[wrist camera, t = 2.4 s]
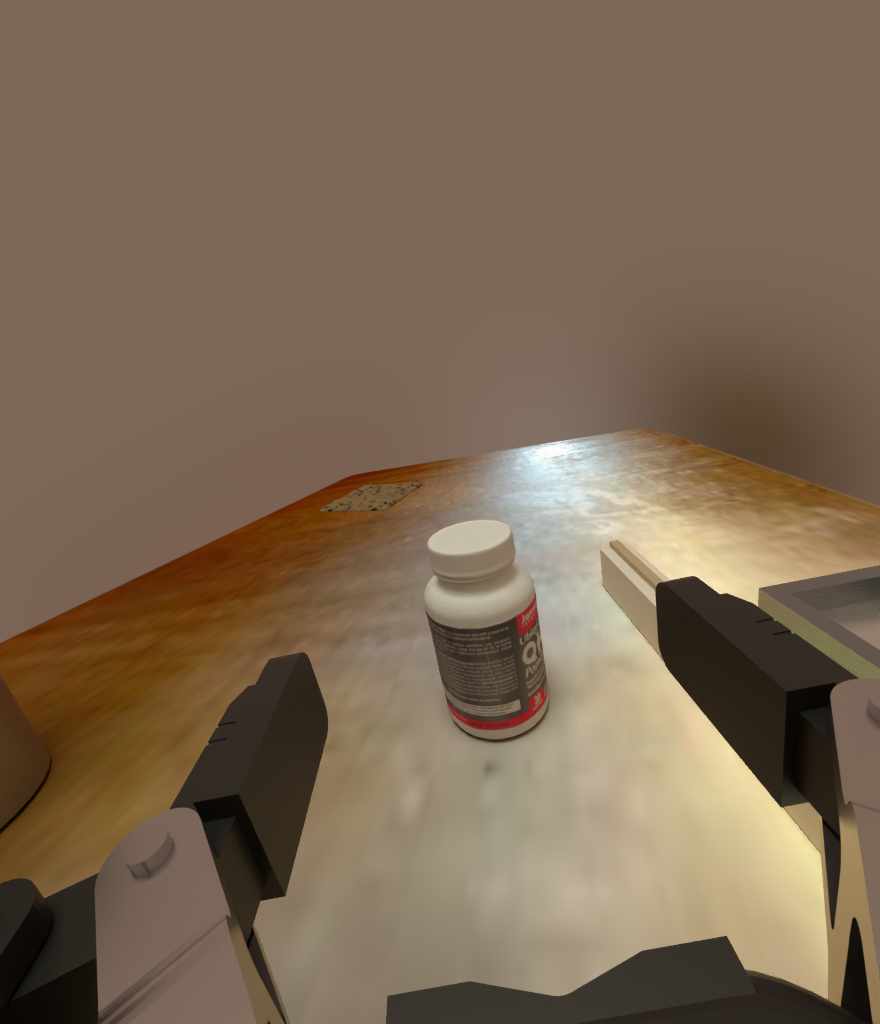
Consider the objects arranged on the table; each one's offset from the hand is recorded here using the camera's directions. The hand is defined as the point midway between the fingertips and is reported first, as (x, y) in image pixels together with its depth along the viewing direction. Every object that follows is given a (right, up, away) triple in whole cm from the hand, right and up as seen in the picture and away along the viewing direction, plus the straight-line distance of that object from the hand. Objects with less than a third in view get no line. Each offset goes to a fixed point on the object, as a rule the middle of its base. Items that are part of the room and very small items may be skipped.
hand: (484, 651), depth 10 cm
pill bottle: (+2, -7, +14) cm, 16 cm away
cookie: (-11, +5, +57) cm, 59 cm away
